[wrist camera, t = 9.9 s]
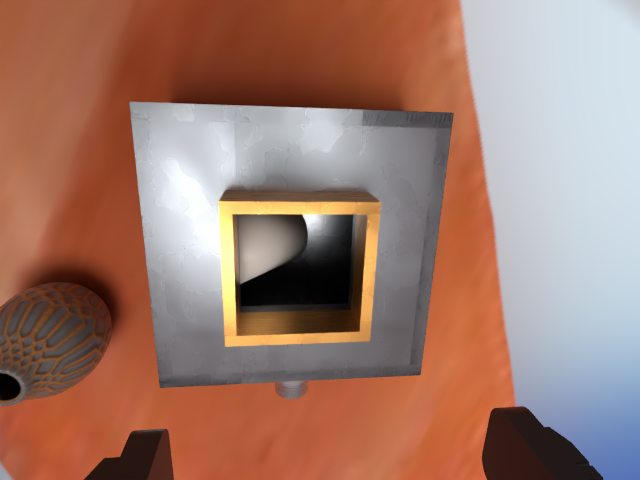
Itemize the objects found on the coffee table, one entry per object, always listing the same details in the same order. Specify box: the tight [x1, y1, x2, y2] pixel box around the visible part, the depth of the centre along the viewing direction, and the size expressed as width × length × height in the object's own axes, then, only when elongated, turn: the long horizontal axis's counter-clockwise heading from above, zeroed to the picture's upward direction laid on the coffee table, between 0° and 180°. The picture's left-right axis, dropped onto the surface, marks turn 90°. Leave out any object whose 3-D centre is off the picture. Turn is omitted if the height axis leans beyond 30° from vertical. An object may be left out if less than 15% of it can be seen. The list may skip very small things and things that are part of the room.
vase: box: [0, 282, 112, 406], centre depth 26 cm, size 7×7×9 cm
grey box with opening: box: [129, 102, 454, 399], centre depth 25 cm, size 20×16×10 cm
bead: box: [238, 214, 308, 284], centre depth 26 cm, size 4×4×6 cm
